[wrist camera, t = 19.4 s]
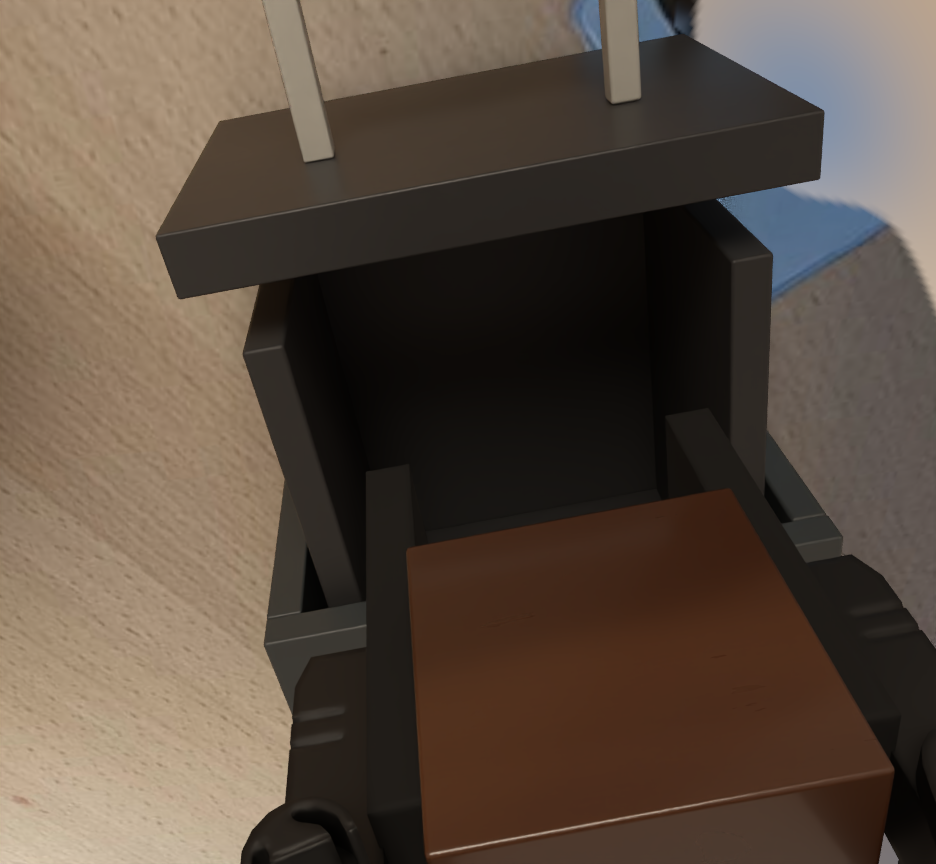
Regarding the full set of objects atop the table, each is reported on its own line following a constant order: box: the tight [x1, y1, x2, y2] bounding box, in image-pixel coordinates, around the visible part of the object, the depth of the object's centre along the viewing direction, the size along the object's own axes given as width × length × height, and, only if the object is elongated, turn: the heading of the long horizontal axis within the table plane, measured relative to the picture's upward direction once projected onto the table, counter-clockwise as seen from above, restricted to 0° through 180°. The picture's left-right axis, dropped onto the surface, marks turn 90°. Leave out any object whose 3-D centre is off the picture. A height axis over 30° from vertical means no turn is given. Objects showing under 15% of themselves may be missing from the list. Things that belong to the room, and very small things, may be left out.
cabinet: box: [264, 431, 843, 715], centre depth 27 cm, size 15×13×10 cm
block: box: [406, 488, 895, 864], centre depth 11 cm, size 4×4×4 cm
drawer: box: [156, 0, 824, 608], centre depth 20 cm, size 18×11×8 cm, turn 9°
